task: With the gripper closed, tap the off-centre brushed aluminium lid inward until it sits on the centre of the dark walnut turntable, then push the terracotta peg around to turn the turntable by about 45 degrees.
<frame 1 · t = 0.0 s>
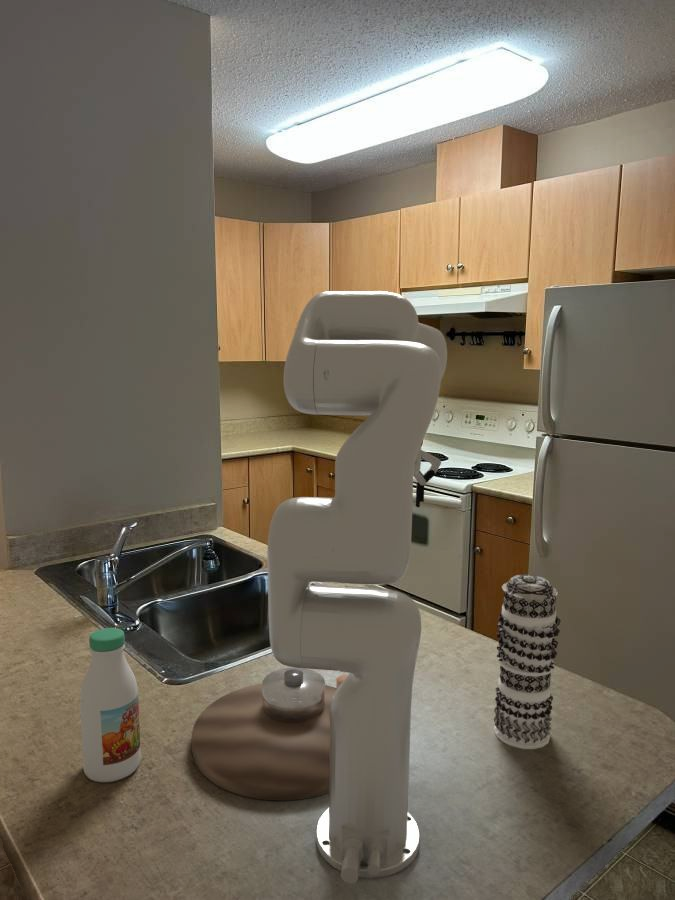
hand: (391, 504, 120), 31 cm above the countertop, tool pointing down, fingers open, 9 cm apart
milk bottle: (112, 768, 94), on the countertop
turntable: (286, 720, 101), point 3 cm above the countertop, hinge at 0.0°, touching lid
lid: (293, 705, 107), point 2 cm above the countertop, touching turntable
decorative candle: (521, 734, 104), on the countertop
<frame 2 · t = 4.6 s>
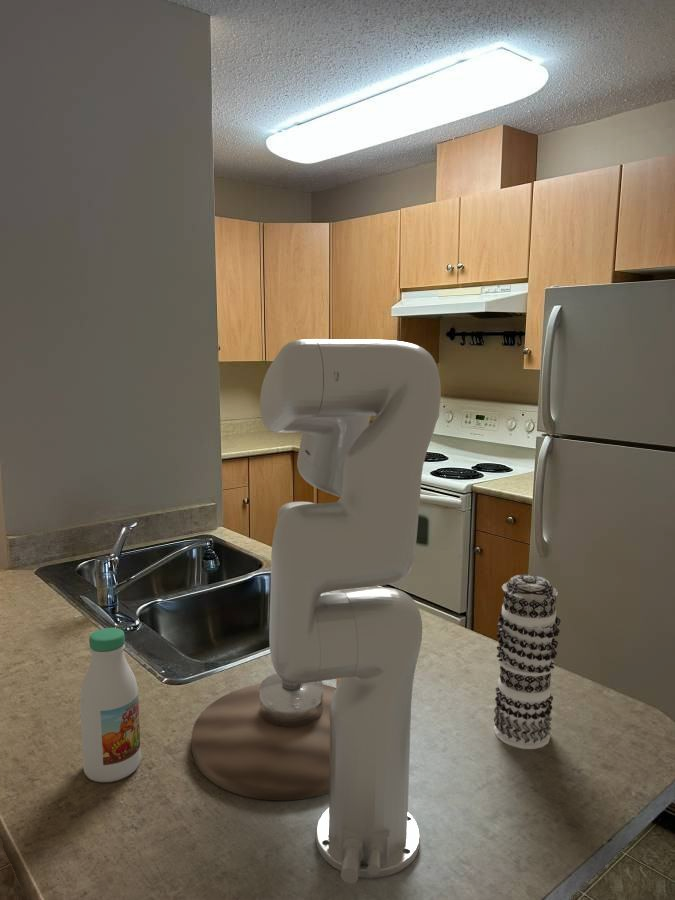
hand: (299, 680, 113), 3 cm above the countertop, tool pointing down, fingers closed
turntable: (286, 720, 101), point 3 cm above the countertop, hinge at 0.0°
lid: (291, 709, 106), point 2 cm above the countertop, touching gripper
everything else where it was.
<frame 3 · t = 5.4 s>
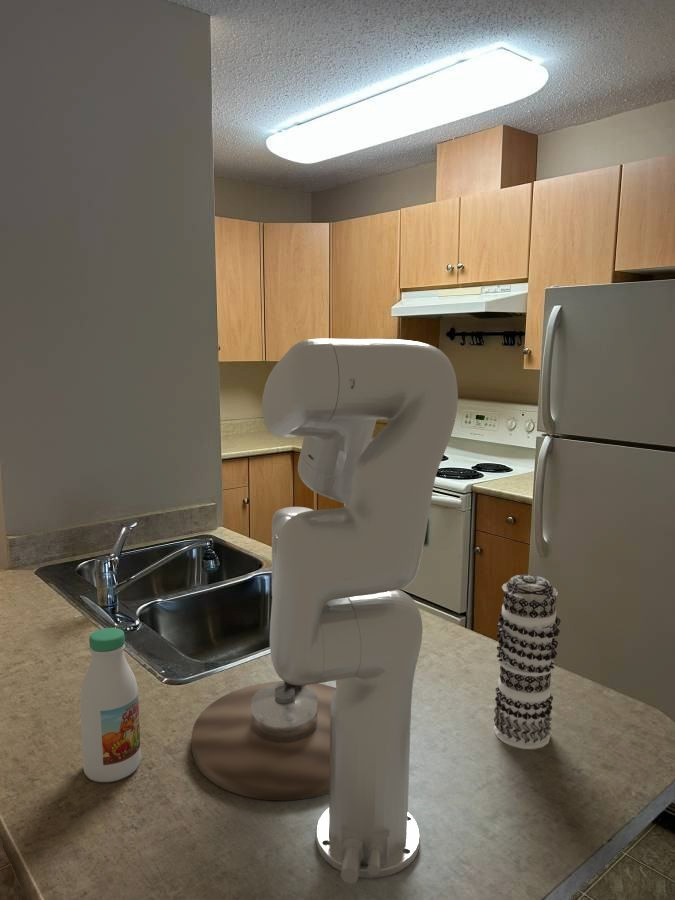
hand: (294, 692, 109), 3 cm above the countertop, tool pointing down, fingers closed
turntable: (286, 720, 101), point 3 cm above the countertop, hinge at 0.5°, touching lid
lid: (284, 723, 102), point 2 cm above the countertop, touching gripper, turntable
everything else where it was.
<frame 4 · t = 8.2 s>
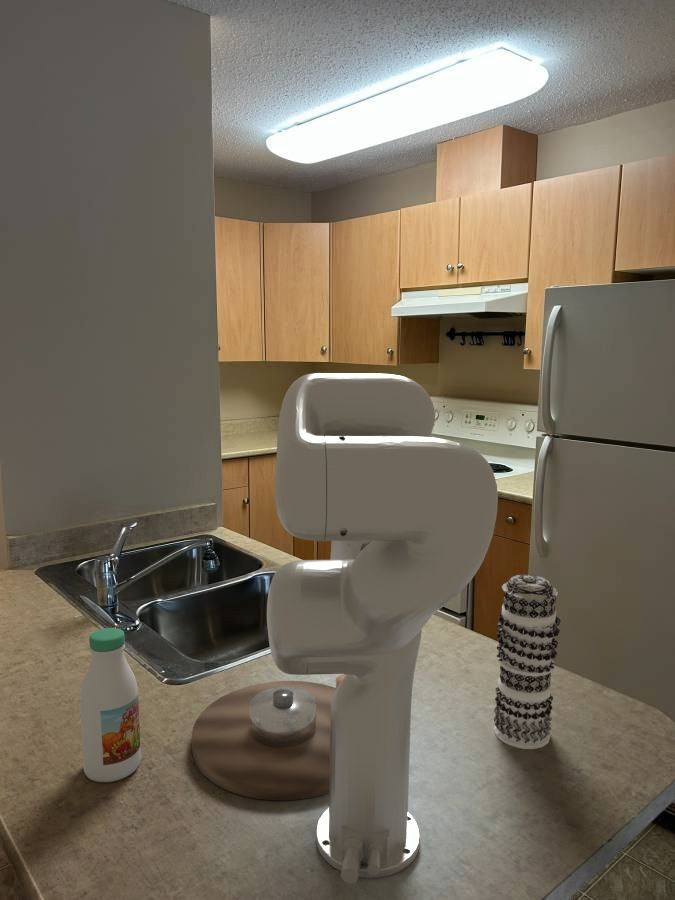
hand: (353, 635, 100), 17 cm above the countertop, tool pointing down, fingers closed
lid: (283, 728, 101), point 2 cm above the countertop, touching turntable
everything else where it was.
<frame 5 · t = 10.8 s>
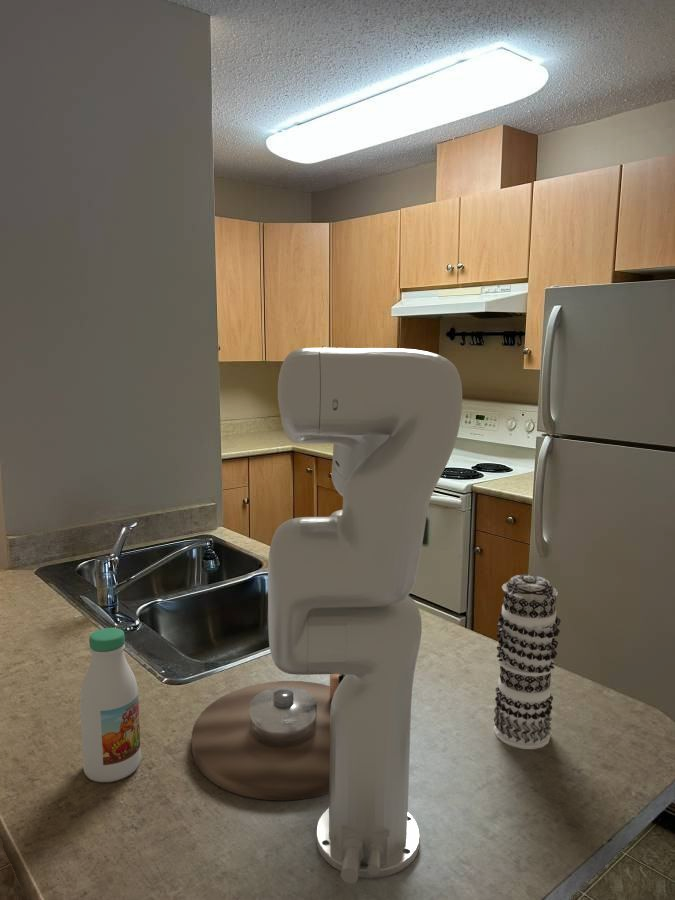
hand: (349, 699, 106), 4 cm above the countertop, tool pointing down, fingers closed
turntable: (286, 720, 101), point 3 cm above the countertop, hinge at 8.1°, touching gripper, lid
everything else where it was.
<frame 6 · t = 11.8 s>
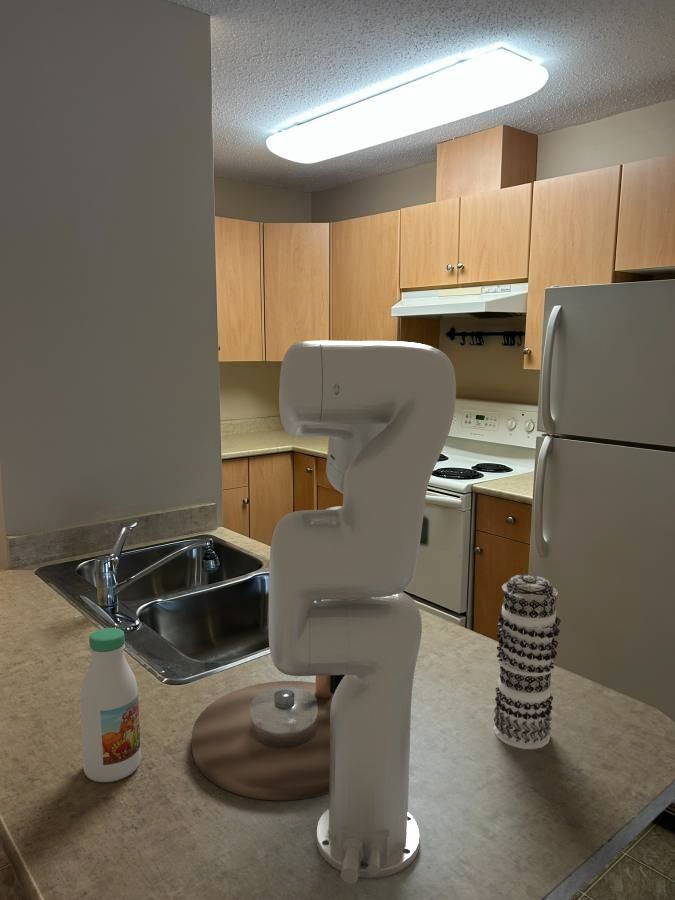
hand: (341, 692, 108), 4 cm above the countertop, tool pointing down, fingers closed
turntable: (286, 720, 101), point 3 cm above the countertop, hinge at 22.9°, touching gripper, lid
everything else where it was.
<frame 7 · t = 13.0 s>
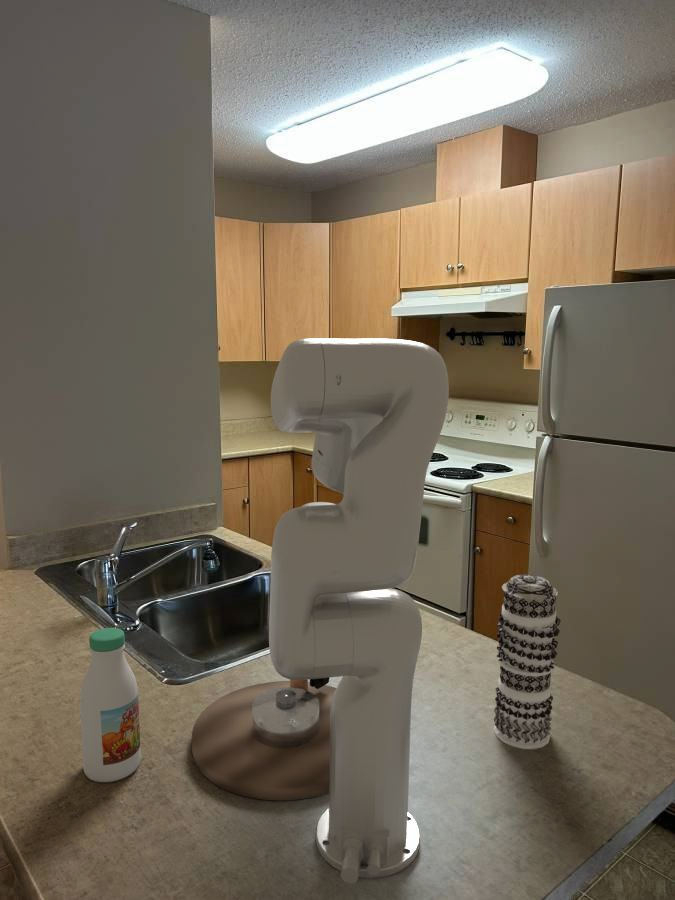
hand: (319, 684, 111), 4 cm above the countertop, tool pointing down, fingers closed
turntable: (286, 720, 101), point 3 cm above the countertop, hinge at 45.7°, touching gripper, lid
everything else where it was.
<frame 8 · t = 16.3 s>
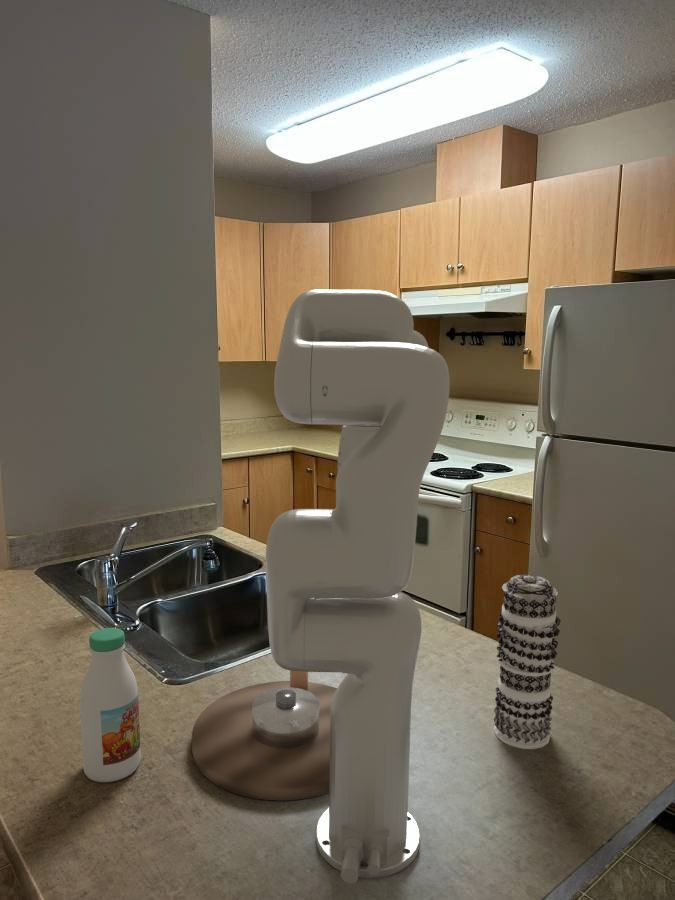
hand: (365, 524, 114), 29 cm above the countertop, tool pointing down, fingers closed
turntable: (286, 720, 101), point 3 cm above the countertop, hinge at 45.8°, touching lid
everything else where it was.
at the end: lid 0.6 cm from the turntable (horizontally); turntable at +46° (first picture: +0°); lid touching turntable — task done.
